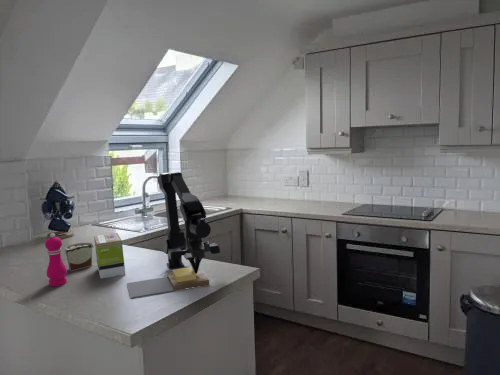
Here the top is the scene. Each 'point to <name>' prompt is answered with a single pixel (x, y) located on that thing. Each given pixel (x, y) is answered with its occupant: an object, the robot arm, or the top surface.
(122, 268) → the tea box
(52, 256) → the pepper mill
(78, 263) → the food container
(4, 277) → the top surface
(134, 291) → the mat
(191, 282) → the cutting block
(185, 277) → the butter block
